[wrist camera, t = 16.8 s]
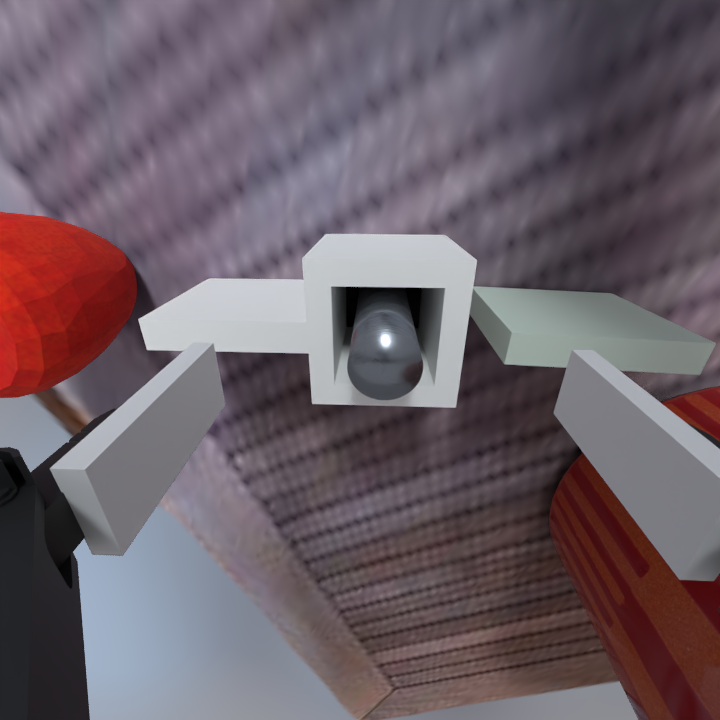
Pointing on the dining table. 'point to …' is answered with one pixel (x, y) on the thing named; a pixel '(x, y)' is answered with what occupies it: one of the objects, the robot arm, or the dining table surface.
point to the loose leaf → (584, 330)
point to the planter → (642, 589)
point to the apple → (57, 300)
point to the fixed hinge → (333, 312)
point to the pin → (384, 345)
